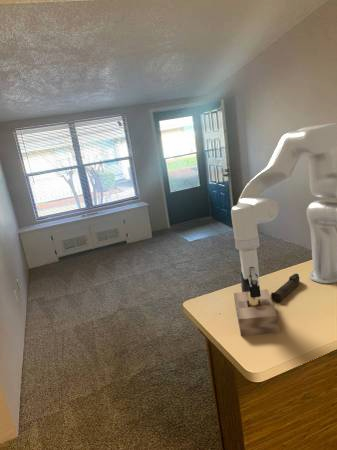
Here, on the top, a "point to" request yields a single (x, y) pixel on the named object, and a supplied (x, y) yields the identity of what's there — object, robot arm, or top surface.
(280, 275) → the top surface
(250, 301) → the peg
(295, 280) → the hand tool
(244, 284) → the supplement bottle
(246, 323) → the hole block
